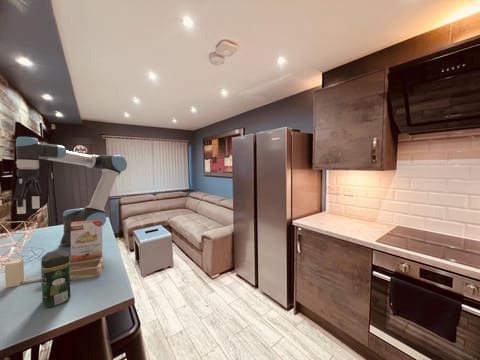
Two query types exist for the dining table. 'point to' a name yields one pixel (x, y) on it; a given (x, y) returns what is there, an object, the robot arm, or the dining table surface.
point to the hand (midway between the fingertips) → (29, 210)
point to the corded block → (15, 273)
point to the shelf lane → (86, 269)
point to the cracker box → (86, 239)
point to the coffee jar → (55, 278)
